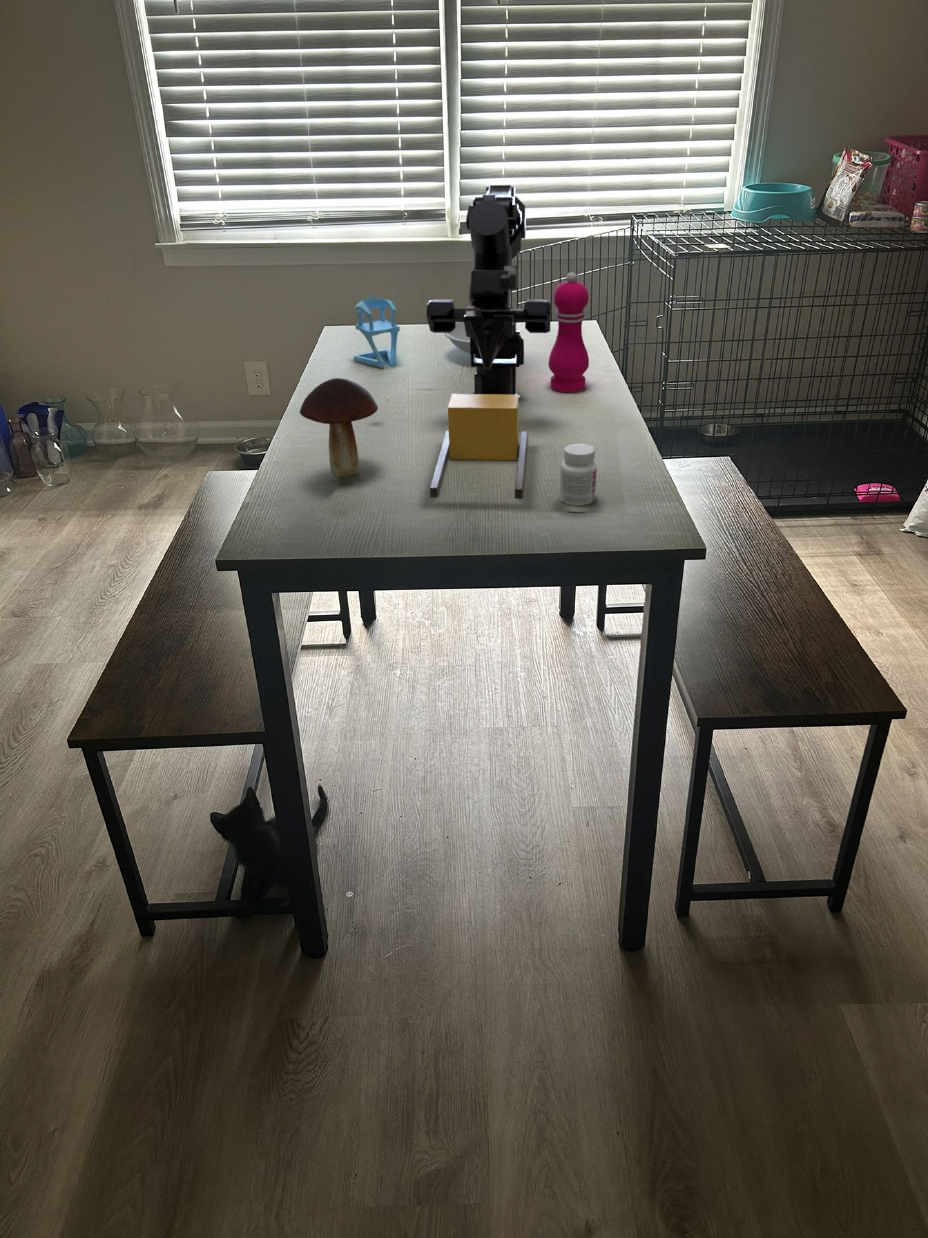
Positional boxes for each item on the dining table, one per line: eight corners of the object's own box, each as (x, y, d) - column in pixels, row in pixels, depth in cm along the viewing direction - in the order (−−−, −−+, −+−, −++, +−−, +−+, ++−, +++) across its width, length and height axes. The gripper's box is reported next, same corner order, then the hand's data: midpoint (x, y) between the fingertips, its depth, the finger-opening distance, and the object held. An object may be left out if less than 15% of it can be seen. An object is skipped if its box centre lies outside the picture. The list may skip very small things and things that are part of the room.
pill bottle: (599, 512, 128) (602, 453, 123) (565, 516, 127) (567, 457, 122) (588, 497, 132) (590, 440, 127) (555, 501, 131) (556, 444, 126)
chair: (371, 370, 183) (366, 307, 176) (353, 359, 189) (348, 298, 182) (406, 363, 186) (403, 301, 179) (388, 353, 192) (384, 292, 186)
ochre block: (453, 444, 146) (452, 393, 142) (518, 445, 145) (518, 394, 141) (449, 459, 141) (447, 407, 137) (516, 460, 140) (517, 408, 136)
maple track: (442, 446, 149) (442, 430, 147) (531, 447, 148) (532, 431, 146) (425, 505, 131) (424, 487, 129) (527, 507, 129) (527, 489, 128)
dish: (448, 342, 198) (448, 317, 195) (517, 341, 197) (517, 317, 194) (440, 367, 183) (439, 342, 180) (515, 368, 182) (515, 341, 179)
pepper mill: (561, 395, 168) (565, 278, 157) (540, 384, 173) (542, 270, 163) (595, 389, 170) (601, 273, 160) (573, 378, 176) (578, 265, 165)
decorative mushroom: (394, 484, 137) (387, 383, 129) (322, 500, 133) (310, 396, 125) (366, 459, 145) (358, 362, 137) (297, 473, 141) (285, 374, 133)
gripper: (424, 244, 139) (419, 343, 136) (552, 243, 137) (549, 343, 135) (433, 284, 150) (428, 376, 147) (551, 283, 148) (548, 377, 145)
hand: (487, 368), depth 143 cm, fingers closed
